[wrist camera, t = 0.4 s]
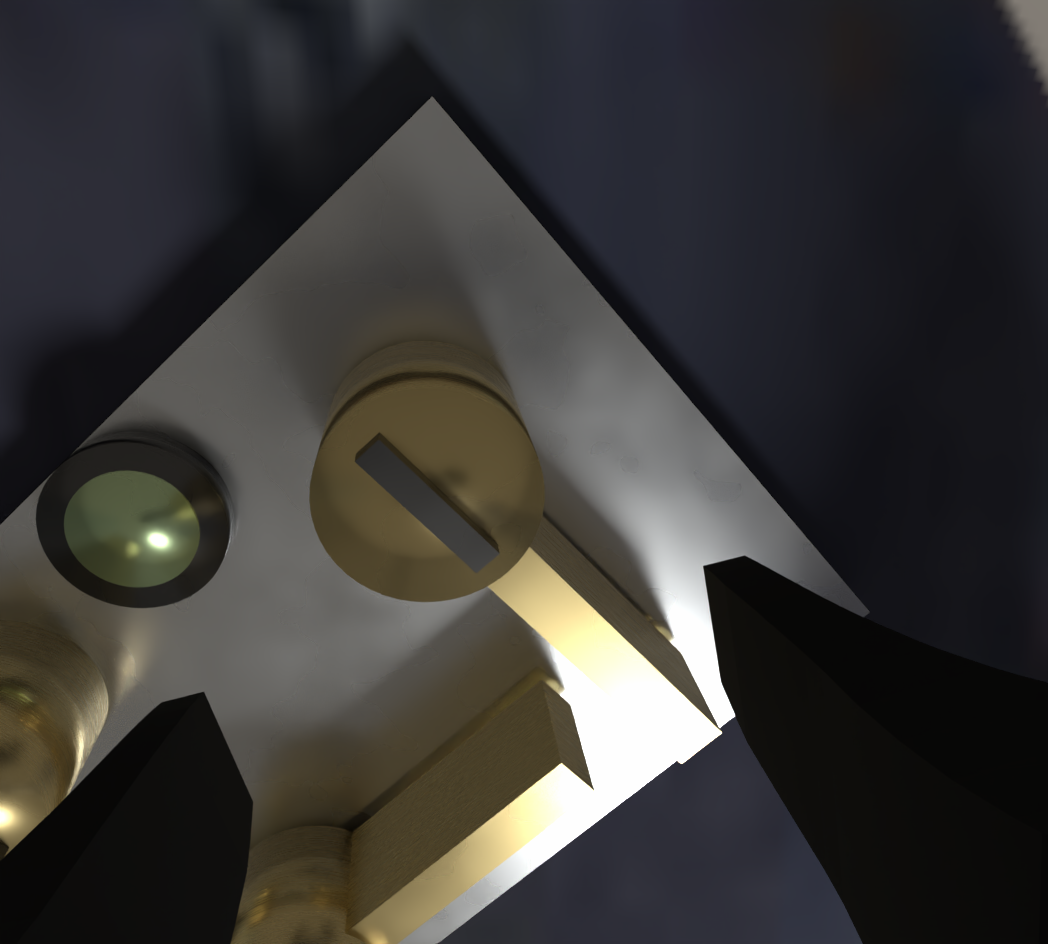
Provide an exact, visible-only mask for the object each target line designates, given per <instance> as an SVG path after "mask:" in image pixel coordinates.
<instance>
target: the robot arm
mask: <svg viewBox="0 0 1048 944" xmlns="http://www.w3.org/2000/svg"><path fill="white" fill-rule="evenodd" d="M703 569H704V576H705V582H706V589H707V595H708V602H709V608H710V615H711V621H712V628H713V635H714V641H715V648H716V654H717V661H718V667H719V674H720V680H721V684H722V686H723V689H724V691H725V693H726V696H727V698H728V700H729V702H730V705H731V707H732V709H733V712H734V714H735V716H736V718H737V721H738V723H739V725H740V727H741V729H742V732H743V734H744V736H745V738H746V740H747V743H748V744H749V746H750V748H751V749H752V751H753V753H754V754H755V756H756V758H757V759H758V761H759V763H760V764H761V766H762V768H763V769H764V771H765V773H766V774H767V776H768V778H769V779H770V781H771V783H772V784H773V786H774V788H775V789H776V791H777V793H778V794H779V796H780V798H781V799H782V801H783V803H784V804H785V806H786V807H787V809H788V811H789V812H790V814H791V816H792V817H793V819H794V821H795V822H796V824H797V825H798V827H799V829H800V830H801V832H802V834H803V835H804V837H805V839H806V840H807V842H808V844H809V845H810V847H811V848H812V850H813V852H814V853H815V855H816V857H817V858H818V860H819V862H820V863H821V865H822V866H823V868H824V870H825V871H826V873H827V875H828V877H829V878H830V880H831V882H832V884H833V886H834V887H835V889H836V891H837V893H838V895H839V896H840V898H841V900H842V902H843V904H844V906H845V908H846V910H847V912H848V914H849V916H850V918H851V920H852V922H853V924H854V926H855V928H856V930H857V932H858V935H859V937H860V939H861V941H862V943H863V944H1048V683H1046V682H1043V681H1039V680H1035V679H1031V678H1027V677H1023V676H1020V675H1016V674H1013V673H1009V672H1006V671H1003V670H999V669H996V668H993V667H989V666H986V665H984V664H981V663H978V662H975V661H972V660H969V659H966V658H963V657H960V656H957V655H954V654H951V653H948V652H946V651H943V650H940V649H937V648H935V647H932V646H929V645H927V644H924V643H922V642H919V641H917V640H914V639H912V638H909V637H907V636H905V635H902V634H900V633H898V632H895V631H893V630H891V629H889V628H886V627H884V626H882V625H879V624H877V623H875V622H873V621H870V620H868V619H866V618H864V617H862V616H860V615H858V614H855V613H853V612H851V611H849V610H847V609H845V608H843V607H841V606H839V605H837V604H835V603H833V602H831V601H829V600H827V599H825V598H823V597H821V596H820V595H818V594H816V593H814V592H812V591H810V590H808V589H806V588H804V587H803V586H801V585H799V584H797V583H795V582H793V581H792V580H790V579H788V578H786V577H784V576H782V575H781V574H779V573H777V572H775V571H773V570H771V569H770V568H768V567H766V566H764V565H762V564H760V563H759V562H757V561H755V560H753V559H751V558H749V557H747V556H745V555H744V556H740V557H736V558H732V559H728V560H724V561H720V562H716V563H712V564H708V565H704V566H703ZM252 813H253V800H252V798H251V796H250V793H249V791H248V789H247V787H246V785H245V782H244V780H243V778H242V776H241V773H240V771H239V769H238V767H237V764H236V762H235V760H234V758H233V755H232V753H231V751H230V749H229V746H228V744H227V742H226V740H225V738H224V735H223V733H222V731H221V729H220V726H219V724H218V722H217V720H216V717H215V715H214V713H213V711H212V708H211V706H210V704H209V702H208V699H207V697H206V695H205V693H204V692H200V693H196V694H192V695H188V696H184V697H180V698H176V699H173V700H169V701H165V702H161V703H160V704H159V705H158V706H156V707H155V708H154V709H153V710H152V711H151V712H150V713H148V714H147V715H146V716H145V717H144V718H143V719H142V720H141V721H140V722H139V723H138V724H137V725H136V726H135V727H134V728H133V729H132V730H131V731H130V732H129V733H128V734H127V735H126V736H125V737H124V738H123V739H122V740H121V741H120V742H119V743H118V744H117V745H116V746H115V747H114V748H113V749H112V750H111V751H110V752H109V753H108V754H107V755H106V757H105V758H104V759H103V760H102V761H101V762H100V763H99V764H98V765H97V766H96V767H95V768H94V769H93V770H92V771H91V772H90V773H89V774H88V775H87V776H86V777H85V778H84V779H83V780H82V781H81V782H80V783H79V784H78V785H77V786H76V787H75V788H74V789H73V790H72V791H71V792H70V793H69V794H68V795H67V797H66V798H65V799H64V800H63V801H62V802H61V803H60V804H59V805H58V806H57V807H56V808H55V809H54V810H53V811H52V812H51V813H50V814H49V815H48V816H46V817H45V818H44V819H43V820H42V821H41V822H40V823H39V824H38V825H37V826H36V827H35V828H34V829H33V830H32V831H31V832H30V833H29V834H28V835H27V836H26V837H25V838H24V839H22V840H21V841H20V842H19V843H18V844H17V845H16V846H15V847H14V848H13V849H12V850H11V851H10V852H9V853H8V854H7V855H6V856H5V857H4V858H3V859H2V860H1V861H0V944H231V940H232V936H233V932H234V928H235V923H236V919H237V914H238V910H239V906H240V901H241V897H242V893H243V888H244V883H245V879H246V874H247V868H248V858H249V849H250V840H251V827H252Z"/></svg>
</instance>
